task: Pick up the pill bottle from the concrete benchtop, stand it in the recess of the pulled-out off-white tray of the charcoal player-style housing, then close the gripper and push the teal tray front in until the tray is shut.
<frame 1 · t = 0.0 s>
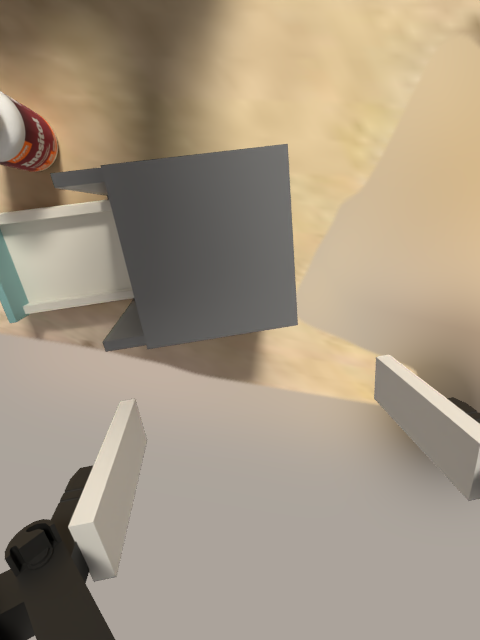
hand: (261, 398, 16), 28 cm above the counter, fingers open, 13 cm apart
pill bottle: (31, 142, 34), on the counter
tray: (69, 259, 36), point 3 cm above the counter, slide at 13.0 cm
housing: (192, 240, 40), on the counter
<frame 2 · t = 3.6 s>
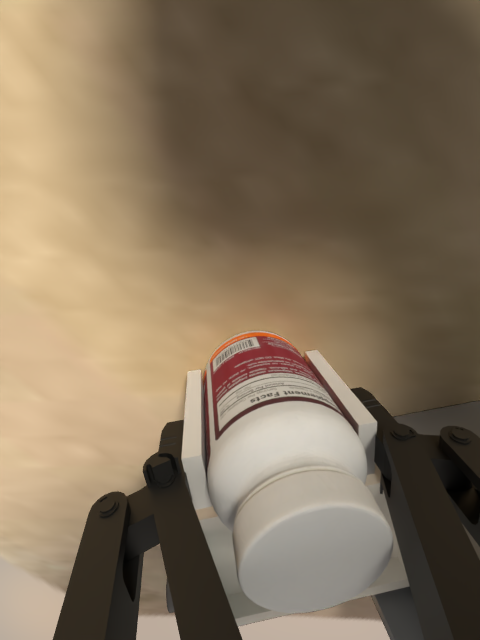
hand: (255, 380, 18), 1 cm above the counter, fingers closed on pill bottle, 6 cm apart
pill bottle: (252, 371, 19), on the counter, touching gripper
tray: (302, 559, 21), point 3 cm above the counter, slide at 13.0 cm
housing: (462, 477, 25), on the counter
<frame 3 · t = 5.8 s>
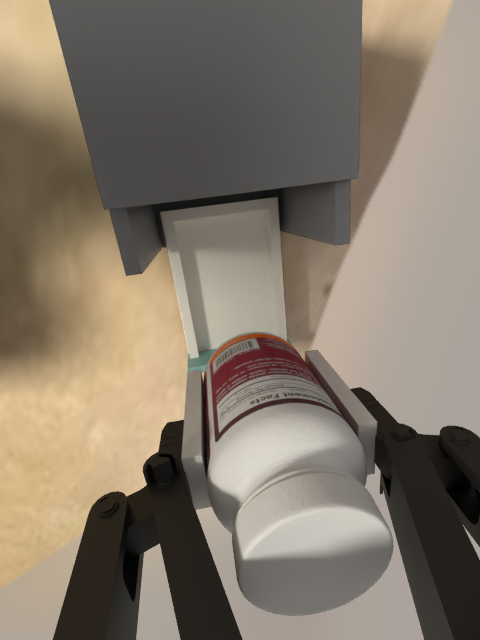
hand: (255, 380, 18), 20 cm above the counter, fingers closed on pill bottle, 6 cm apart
pill bottle: (252, 372, 19), point 18 cm above the counter, touching gripper
tray: (231, 292, 33), point 3 cm above the counter, slide at 13.0 cm
housing: (209, 146, 31), on the counter
when the fingers open (4 cm above the counter, at t = 7.9 s): pill bottle drops 2 cm, resting on tray.
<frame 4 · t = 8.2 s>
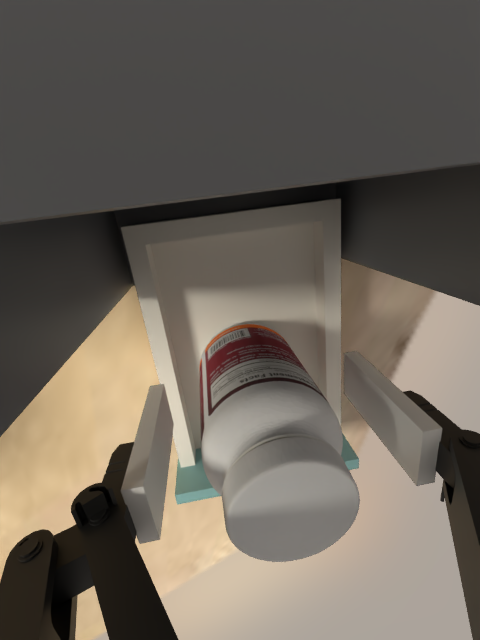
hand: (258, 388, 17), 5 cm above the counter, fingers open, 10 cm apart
pill bottle: (245, 360, 21), point 2 cm above the counter, touching tray
tray: (251, 364, 19), point 3 cm above the counter, slide at 13.0 cm, touching pill bottle
housing: (214, 107, 17), on the counter
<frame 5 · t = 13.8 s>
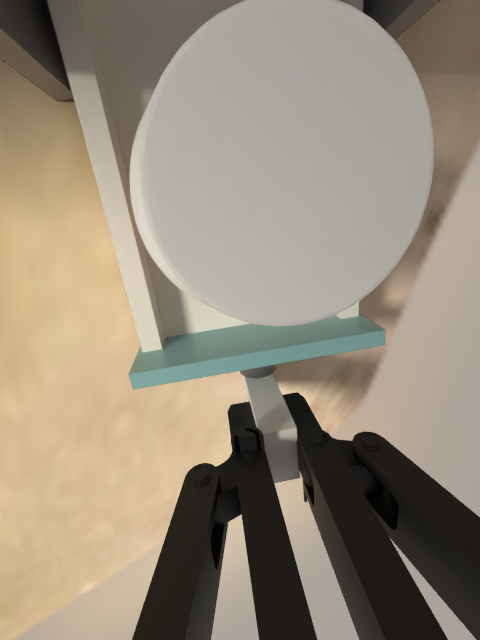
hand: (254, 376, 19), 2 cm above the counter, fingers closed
pill bottle: (228, 203, 15), point 2 cm above the counter, touching tray
tray: (235, 189, 13), point 3 cm above the counter, slide at 12.4 cm, touching gripper, pill bottle
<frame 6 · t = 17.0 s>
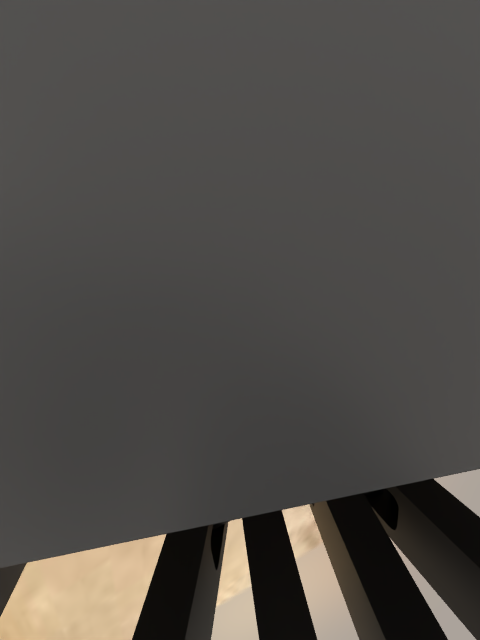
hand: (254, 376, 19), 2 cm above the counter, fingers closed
housing: (224, 155, 16), on the counter
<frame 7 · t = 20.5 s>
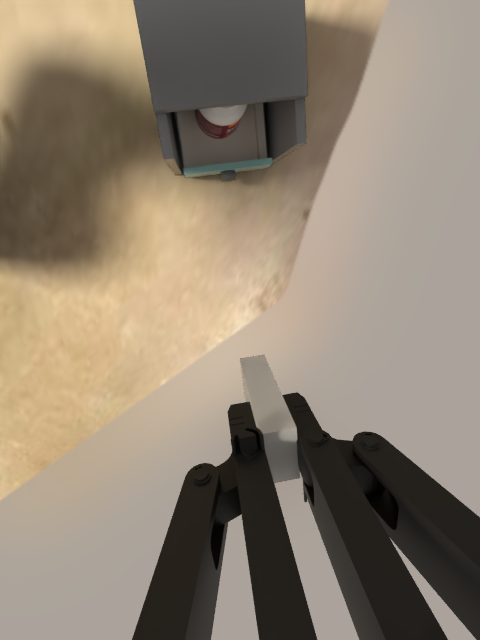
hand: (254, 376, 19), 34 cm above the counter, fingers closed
pill bottle: (217, 114, 42), point 2 cm above the counter, touching tray
tray: (219, 106, 40), point 3 cm above the counter, slide at 0.4 cm, touching pill bottle
housing: (216, 97, 42), on the counter
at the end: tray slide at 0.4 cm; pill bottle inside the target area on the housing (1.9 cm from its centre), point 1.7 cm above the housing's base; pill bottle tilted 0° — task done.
